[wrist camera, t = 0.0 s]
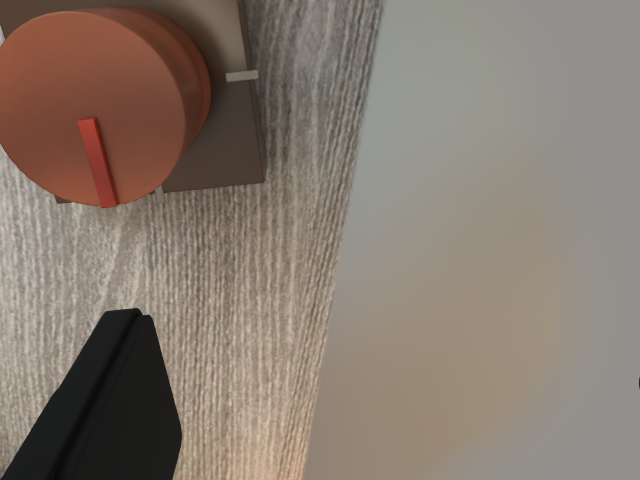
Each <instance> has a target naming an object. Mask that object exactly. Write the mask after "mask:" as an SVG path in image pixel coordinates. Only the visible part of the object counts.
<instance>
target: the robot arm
mask: <svg viewBox="0 0 640 480" xmlns="http://www.w3.org/2000/svg"><path fill="white" fill-rule="evenodd" d="M639 387H640V379H639ZM181 442H182V431H181V425H180V421H179V417H178V413H177V409H176V406H175V402H174V398H173V394H172V390H171V387H170V383H169V379H168V375H167V371H166V367H165V364H164V360H163V356H162V352H161V348H160V345H159V341H158V337H157V333H156V329H155V326H154V322H153V319H152V317H151V316H150V315H142V312H141V311H140V310H139V309H138V308H133V309H123V310H113V311H106V312H105V313H104V314H103V315H102V317H101V319H100V320H99V322H98V324H97V325H96V327H95V329H94V330H93V332H92V334H91V335H90V337H89V339H88V340H87V342H86V344H85V345H84V347H83V349H82V350H81V352H80V354H79V355H78V357H77V359H76V360H75V362H74V364H73V365H72V367H71V369H70V370H69V372H68V374H67V375H66V377H65V379H64V380H63V382H62V384H61V385H60V387H59V389H57V390H56V391H55V393H54V394H53V395H52V396H51V398H50V400H49V401H48V403H47V405H46V406H45V408H44V410H43V411H42V413H41V414H40V416H39V418H38V419H37V421H36V423H35V424H34V426H33V428H32V429H31V431H30V433H29V434H28V436H27V438H26V439H25V441H24V442H23V444H22V446H21V447H20V449H19V451H18V452H17V454H16V456H15V457H14V459H13V461H12V462H11V464H10V466H9V467H8V469H7V470H6V472H5V474H4V475H3V477H2V479H1V480H172V479H173V475H174V471H175V467H176V463H177V460H178V456H179V452H180V448H181Z"/></svg>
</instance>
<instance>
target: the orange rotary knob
mask: <svg viewBox="0 0 640 480" xmlns="http://www.w3.org/2000/svg"><path fill="white" fill-rule="evenodd" d="M210 103H211V83H210V77H209V73H208V69H207V66H206V63H205V61H204V58H203V56H202V54H201V53H200V51H199V49H198V47H197V46H196V45H195V43H194V42H193V40H192V39H191V38H190V37H189V36H188V34H187V33H186V32H185V31H184V30H183V29H182V28H180V27H179V26H178V25H177V24H176V23H174V22H173V21H171V20H170V19H169V18H167V17H165V16H163V15H161V14H160V13H157V12H155V11H152V10H150V9H146V8H142V7H138V6H130V5H117V6H107V7H97V8H87V9H78V10H68V11H59V12H53V13H48V14H44V15H42V16H39V17H36V18H33V19H31V20H30V21H28V22H26V23H24V24H22V25H21V26H20V27H18V28H17V29H16V30H14V31H13V32H12V33H11V34H10V35H9V36H8V37H7V38H6V39H5V40H4V42H3V43H2V45H1V46H0V144H1V145H2V147H3V149H4V151H5V152H6V153H7V155H8V156H9V158H10V159H11V160H12V162H13V163H14V164H15V165H16V166H17V167H18V168H19V169H20V171H22V172H23V173H24V174H25V175H26V176H27V177H28V178H29V179H30V180H32V181H33V182H35V183H36V184H37V185H39V186H40V187H41V188H43V189H45V190H47V191H48V192H50V193H52V194H54V195H56V196H58V197H61V198H63V199H66V200H69V201H72V202H75V203H79V204H85V205H91V206H101V207H102V208H108V207H117V206H118V205H120V204H125V203H129V202H132V201H135V200H137V199H140V198H142V197H144V196H146V195H148V194H149V193H151V192H152V191H154V190H155V189H156V188H158V187H159V186H160V185H161V184H162V183H163V182H164V181H165V180H166V179H167V178H168V177H169V175H170V174H171V173H172V171H173V170H174V168H175V167H176V166H177V164H178V163H179V161H180V160H181V158H182V157H183V155H184V154H185V153H186V151H187V150H188V148H189V147H190V145H191V144H192V142H193V141H194V140H195V138H196V137H197V135H198V134H199V132H200V131H201V129H202V127H203V126H204V123H205V121H206V119H207V116H208V113H209V109H210Z"/></svg>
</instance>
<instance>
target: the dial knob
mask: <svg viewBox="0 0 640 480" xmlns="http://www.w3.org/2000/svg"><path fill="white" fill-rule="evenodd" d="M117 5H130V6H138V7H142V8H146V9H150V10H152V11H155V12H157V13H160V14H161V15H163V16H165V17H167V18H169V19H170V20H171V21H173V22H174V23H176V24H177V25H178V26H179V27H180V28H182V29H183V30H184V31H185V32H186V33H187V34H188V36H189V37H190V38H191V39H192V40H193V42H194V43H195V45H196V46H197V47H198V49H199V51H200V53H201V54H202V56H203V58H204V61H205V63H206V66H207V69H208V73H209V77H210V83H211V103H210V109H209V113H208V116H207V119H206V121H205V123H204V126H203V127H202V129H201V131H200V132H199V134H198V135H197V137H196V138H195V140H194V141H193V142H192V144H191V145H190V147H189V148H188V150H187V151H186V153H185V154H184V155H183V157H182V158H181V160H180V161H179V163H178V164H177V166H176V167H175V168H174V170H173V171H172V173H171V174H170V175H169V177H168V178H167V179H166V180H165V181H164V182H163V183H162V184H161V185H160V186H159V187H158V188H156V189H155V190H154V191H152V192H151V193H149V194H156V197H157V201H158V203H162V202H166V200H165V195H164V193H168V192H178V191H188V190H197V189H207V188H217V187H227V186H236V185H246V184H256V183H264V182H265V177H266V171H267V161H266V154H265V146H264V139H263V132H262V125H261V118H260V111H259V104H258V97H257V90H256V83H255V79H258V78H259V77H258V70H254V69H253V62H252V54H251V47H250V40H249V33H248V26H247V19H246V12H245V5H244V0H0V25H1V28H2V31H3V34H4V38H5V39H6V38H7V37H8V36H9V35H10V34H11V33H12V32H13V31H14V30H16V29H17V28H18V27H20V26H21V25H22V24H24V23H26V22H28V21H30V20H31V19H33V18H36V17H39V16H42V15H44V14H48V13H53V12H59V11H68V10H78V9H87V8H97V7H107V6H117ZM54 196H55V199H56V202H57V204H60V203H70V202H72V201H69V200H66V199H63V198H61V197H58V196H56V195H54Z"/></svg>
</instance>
